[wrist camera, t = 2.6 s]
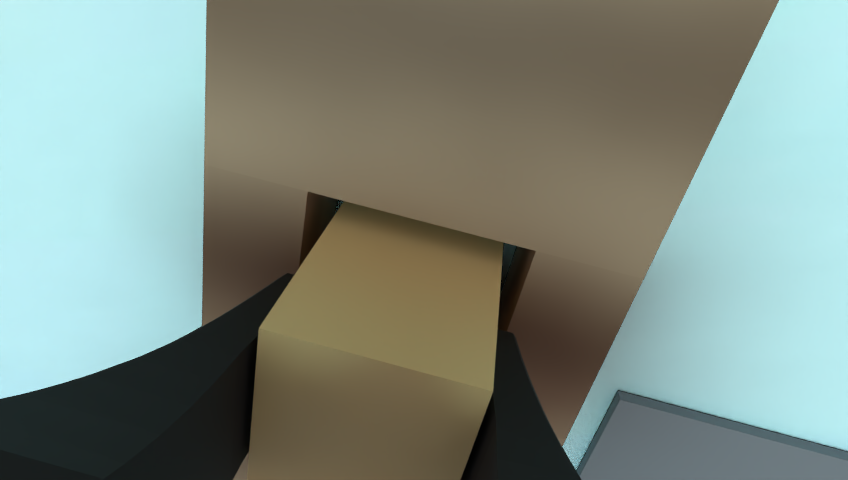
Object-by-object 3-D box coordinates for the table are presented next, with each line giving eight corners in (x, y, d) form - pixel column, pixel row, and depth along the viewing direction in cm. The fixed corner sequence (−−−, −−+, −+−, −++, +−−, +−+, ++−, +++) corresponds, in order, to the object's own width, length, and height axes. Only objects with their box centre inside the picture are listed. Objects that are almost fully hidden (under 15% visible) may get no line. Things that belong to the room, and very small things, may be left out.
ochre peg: (469, 323, 17) (439, 535, 11) (343, 290, 18) (246, 481, 11) (505, 209, 15) (493, 391, 9) (363, 172, 16) (258, 328, 9)
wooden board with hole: (495, 511, 21) (491, 592, 19) (238, 439, 22) (199, 509, 19) (763, -104, 11) (834, -114, 9) (280, -218, 12) (210, -260, 9)
